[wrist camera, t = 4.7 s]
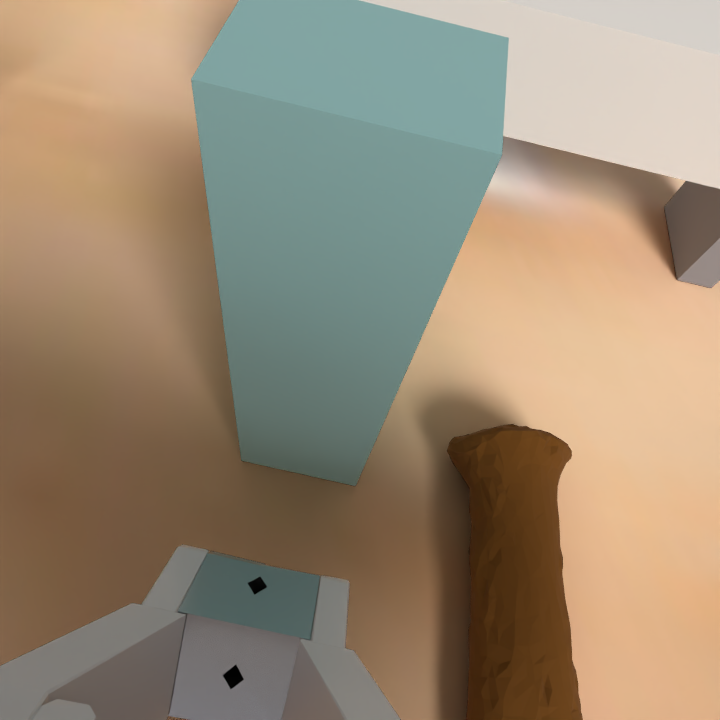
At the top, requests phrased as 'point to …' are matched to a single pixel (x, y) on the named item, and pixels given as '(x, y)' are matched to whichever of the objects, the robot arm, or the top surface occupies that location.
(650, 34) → the white bench
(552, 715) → the primitive tool
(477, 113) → the block
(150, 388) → the top surface
